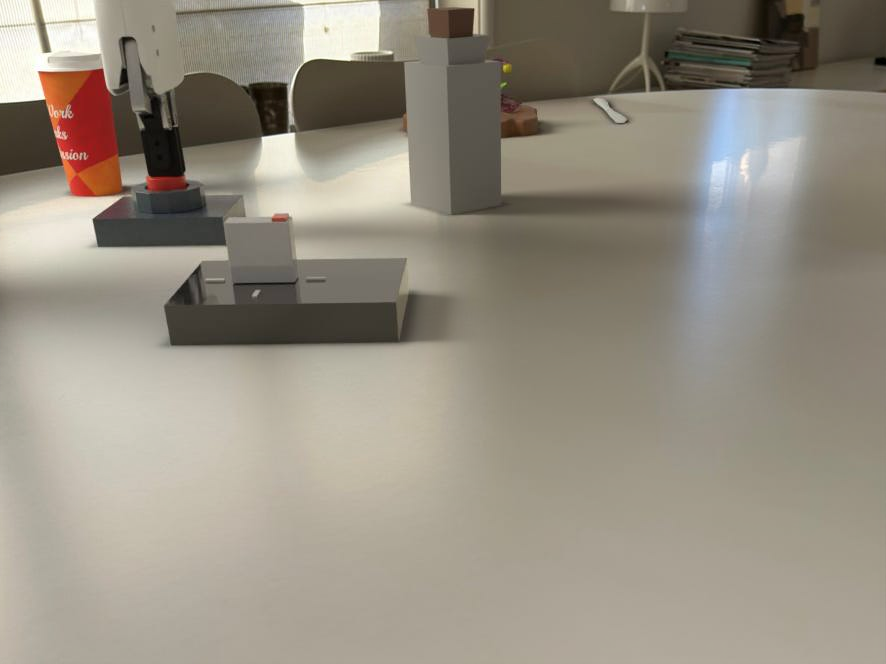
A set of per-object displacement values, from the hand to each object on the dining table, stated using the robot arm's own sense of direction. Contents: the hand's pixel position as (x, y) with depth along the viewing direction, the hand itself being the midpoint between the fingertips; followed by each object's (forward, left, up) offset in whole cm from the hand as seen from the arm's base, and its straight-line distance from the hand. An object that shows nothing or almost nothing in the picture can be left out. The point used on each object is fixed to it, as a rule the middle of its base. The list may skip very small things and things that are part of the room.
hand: (167, 174), depth 100 cm
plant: (+28, +64, -6) cm, 70 cm away
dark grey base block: (+16, -28, -6) cm, 33 cm away
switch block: (0, 0, -6) cm, 6 cm away
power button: (0, 0, -2) cm, 2 cm away
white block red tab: (+14, -28, -2) cm, 31 cm away
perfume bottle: (+27, +11, -6) cm, 29 cm away
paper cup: (-14, +21, -6) cm, 26 cm away
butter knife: (+50, +79, -6) cm, 93 cm away
